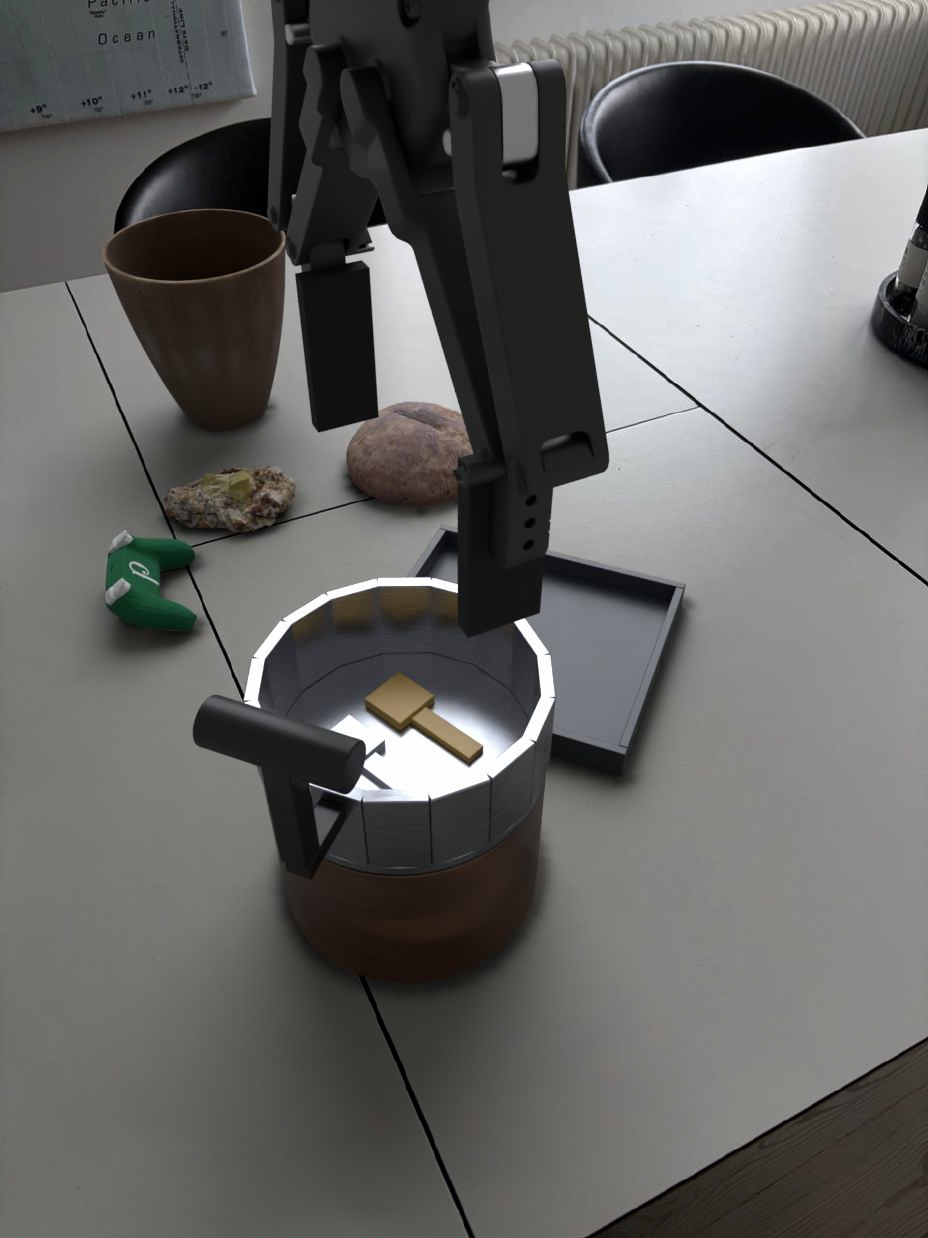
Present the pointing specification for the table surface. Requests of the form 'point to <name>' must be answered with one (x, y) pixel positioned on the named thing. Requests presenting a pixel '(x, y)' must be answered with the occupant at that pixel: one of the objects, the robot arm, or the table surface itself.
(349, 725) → the silver key
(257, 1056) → the table surface
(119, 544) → the gaming controller
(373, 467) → the decorative stone
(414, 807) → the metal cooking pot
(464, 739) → the brass key
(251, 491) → the mineral rock
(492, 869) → the stand
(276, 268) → the flower pot
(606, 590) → the tray
